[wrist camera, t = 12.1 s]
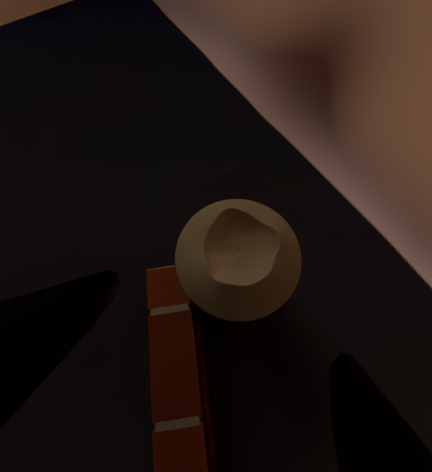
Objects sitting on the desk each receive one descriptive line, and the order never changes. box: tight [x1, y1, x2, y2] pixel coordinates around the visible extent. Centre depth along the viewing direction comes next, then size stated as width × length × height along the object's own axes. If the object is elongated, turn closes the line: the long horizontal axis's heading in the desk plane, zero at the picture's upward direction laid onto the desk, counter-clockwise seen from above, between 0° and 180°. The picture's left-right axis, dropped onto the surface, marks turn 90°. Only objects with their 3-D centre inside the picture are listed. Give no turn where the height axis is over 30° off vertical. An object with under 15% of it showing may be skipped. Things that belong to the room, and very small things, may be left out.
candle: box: [175, 199, 301, 322], centre depth 13 cm, size 6×6×10 cm
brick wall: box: [147, 265, 218, 472], centre depth 12 cm, size 22×3×4 cm, turn 8°
